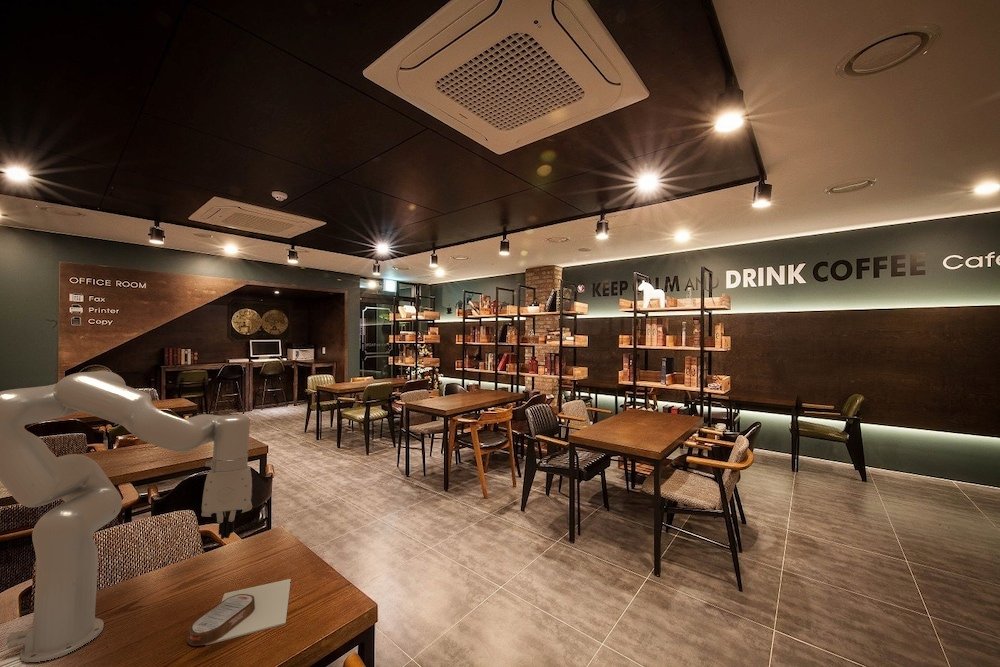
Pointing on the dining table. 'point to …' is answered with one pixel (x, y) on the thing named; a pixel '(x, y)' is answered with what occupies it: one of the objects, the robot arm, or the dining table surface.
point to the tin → (220, 619)
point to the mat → (262, 609)
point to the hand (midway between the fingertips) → (225, 536)
